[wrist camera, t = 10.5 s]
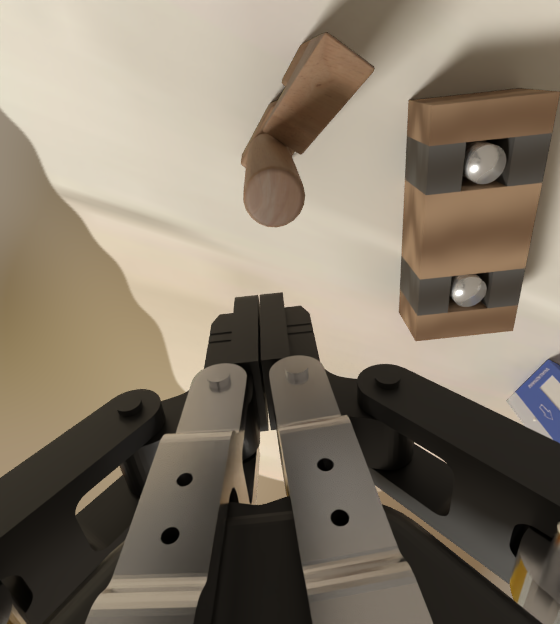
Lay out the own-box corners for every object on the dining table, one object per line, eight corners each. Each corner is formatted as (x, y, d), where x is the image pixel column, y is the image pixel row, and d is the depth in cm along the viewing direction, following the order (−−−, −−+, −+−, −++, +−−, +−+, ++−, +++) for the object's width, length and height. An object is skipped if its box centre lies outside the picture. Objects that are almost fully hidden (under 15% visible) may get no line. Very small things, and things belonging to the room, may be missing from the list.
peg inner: (443, 136, 41) (470, 146, 36) (477, 133, 41) (509, 142, 36) (440, 171, 42) (465, 186, 37) (473, 168, 42) (502, 182, 37)
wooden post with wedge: (337, 67, 38) (395, 67, 22) (273, 176, 42) (284, 243, 26) (301, 40, 37) (335, 22, 21) (240, 156, 41) (230, 212, 25)
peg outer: (433, 256, 47) (455, 279, 42) (463, 253, 47) (488, 275, 42) (431, 283, 48) (451, 308, 43) (460, 280, 48) (484, 305, 43)
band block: (408, 100, 39) (432, 105, 34) (519, 88, 39) (560, 91, 34) (399, 312, 50) (415, 341, 45) (486, 303, 50) (512, 330, 45)
